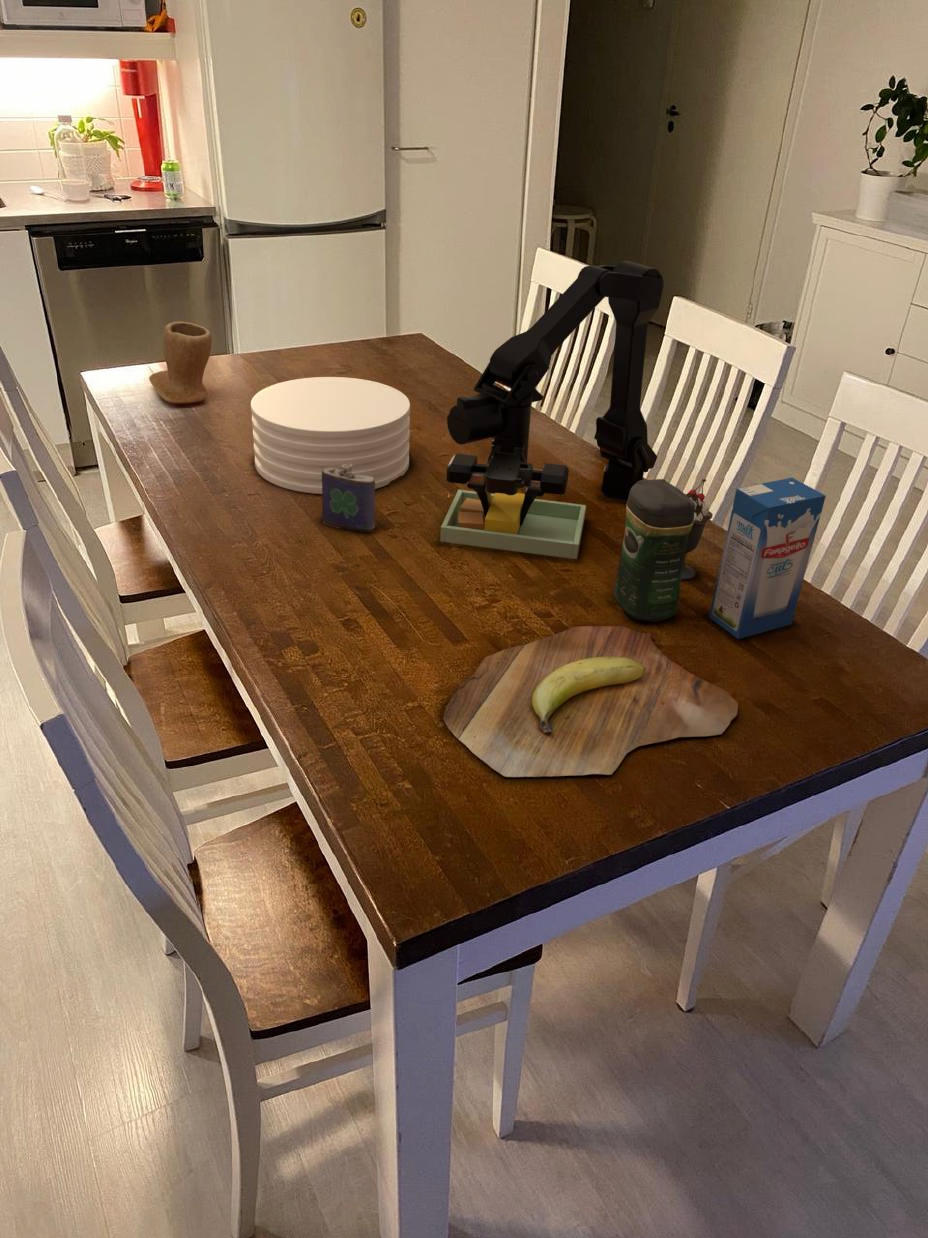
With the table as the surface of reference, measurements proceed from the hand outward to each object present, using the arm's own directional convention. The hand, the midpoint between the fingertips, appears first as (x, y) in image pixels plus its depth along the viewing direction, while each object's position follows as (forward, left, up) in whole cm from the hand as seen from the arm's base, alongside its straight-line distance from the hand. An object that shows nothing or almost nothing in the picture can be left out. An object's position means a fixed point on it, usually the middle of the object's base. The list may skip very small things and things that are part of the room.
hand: (504, 522), depth 158 cm
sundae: (-28, +6, -2) cm, 29 cm away
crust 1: (+5, -2, -1) cm, 6 cm away
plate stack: (+35, -19, -2) cm, 40 cm away
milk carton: (-38, +18, -2) cm, 42 cm away
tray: (-2, 0, -2) cm, 2 cm away
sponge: (0, 0, -1) cm, 1 cm away
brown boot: (+75, -44, -2) cm, 87 cm away
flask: (+25, +5, -2) cm, 25 cm away
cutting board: (-16, +43, -2) cm, 46 cm away
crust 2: (+5, +3, -1) cm, 6 cm away
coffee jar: (-23, +18, -2) cm, 29 cm away
